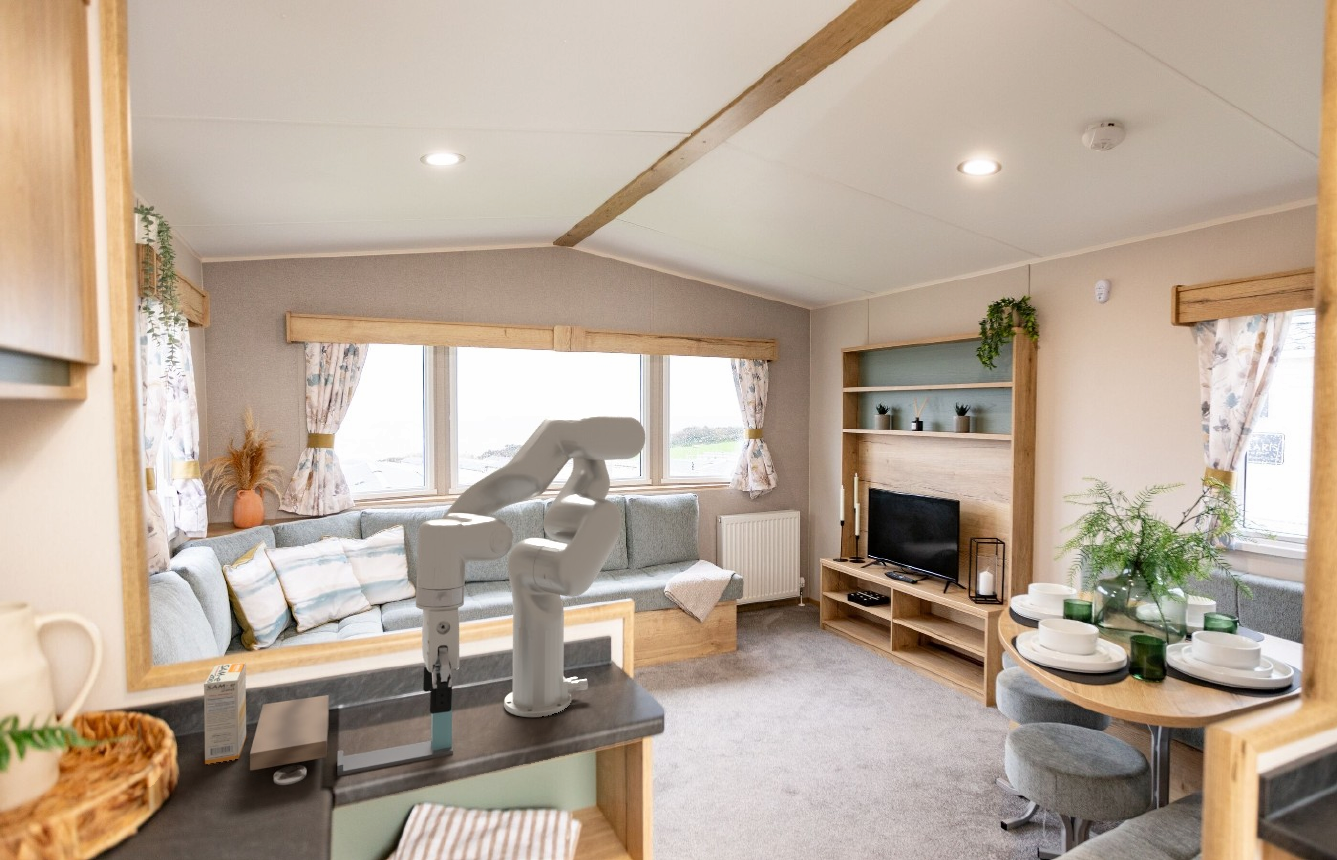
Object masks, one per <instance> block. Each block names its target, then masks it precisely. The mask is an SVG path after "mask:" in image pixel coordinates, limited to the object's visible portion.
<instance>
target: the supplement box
mask: <svg viewBox="0 0 1337 860" xmlns="http://www.w3.org/2000/svg"><path fill="white" fill-rule="evenodd" d="M246 669H247V666H246V662H240V663H239V662H238V663H228V664H219V665H215V666H213V667H212V670H211V671H210V673H209V674H208V677H207V678H206V680H205V681H204V684H203V691H204V693H203V696H204V698H203V700H204V701H203V703H204V704H203V705H204V708H203V709H204V712H203V713H204V715H203V716H204V764H205V765H206V764H208V765H211V764H210V763H214V764H217V763H216V762H221V763H224V762H223V761H227V762H230V761H229V760H232V761H235V759H238V760H239V759H240V756H241V754H242V751H243V748H244V744H245V741H246V739H247V709H246V708H247V705H246V703H247V698H246V696H247V695H246V694H247V693H246V692H247V691H246V690H247V688H246V686H247V685H246V680H247V679H246V678H247V677H246V675H247V674H246V673H247V671H246Z"/></svg>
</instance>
